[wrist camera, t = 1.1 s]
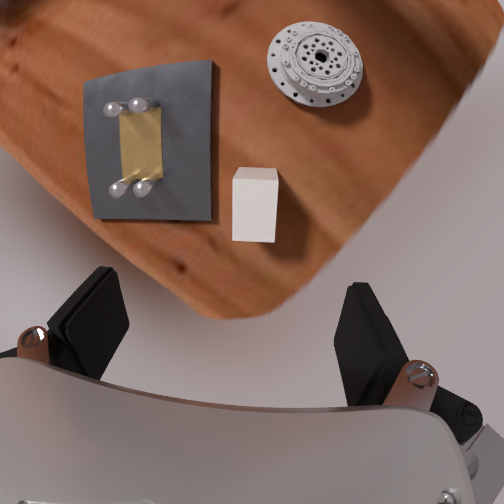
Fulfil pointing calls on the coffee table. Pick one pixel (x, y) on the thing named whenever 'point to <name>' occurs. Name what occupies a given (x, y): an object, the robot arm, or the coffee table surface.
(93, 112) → the base plate
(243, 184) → the jaw block
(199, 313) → the coffee table surface
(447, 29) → the coffee table surface
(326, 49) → the mechanical component
